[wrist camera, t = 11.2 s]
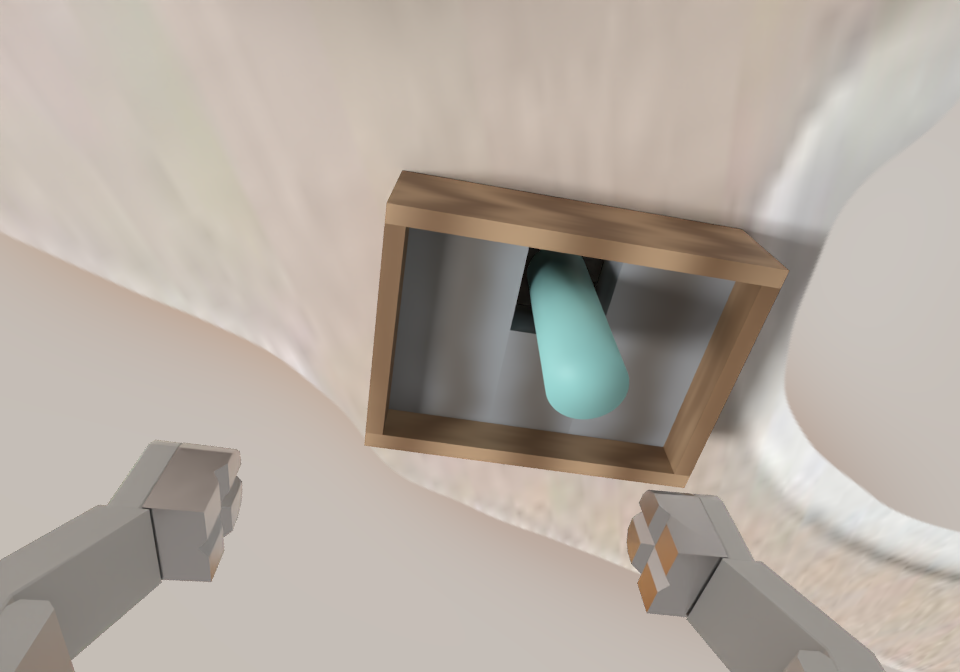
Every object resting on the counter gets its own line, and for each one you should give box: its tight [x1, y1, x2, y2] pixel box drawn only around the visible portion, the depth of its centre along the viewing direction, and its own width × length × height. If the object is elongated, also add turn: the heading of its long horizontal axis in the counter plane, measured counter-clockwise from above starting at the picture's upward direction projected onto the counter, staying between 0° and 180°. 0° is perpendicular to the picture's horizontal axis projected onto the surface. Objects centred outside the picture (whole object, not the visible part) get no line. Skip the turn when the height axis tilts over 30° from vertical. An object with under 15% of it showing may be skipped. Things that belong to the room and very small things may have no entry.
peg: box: [527, 249, 629, 419], centre depth 30 cm, size 4×4×12 cm
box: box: [365, 171, 789, 488], centre depth 34 cm, size 20×15×6 cm
